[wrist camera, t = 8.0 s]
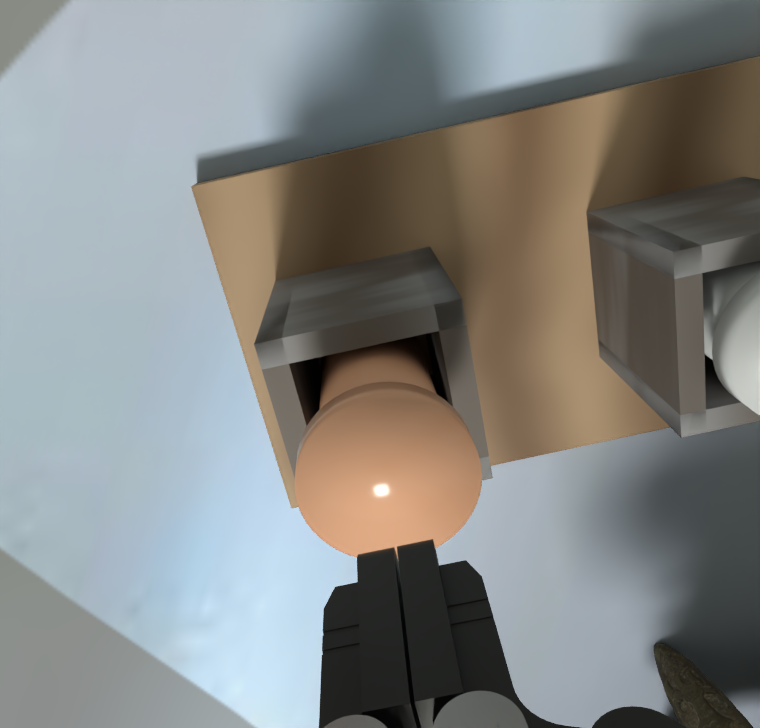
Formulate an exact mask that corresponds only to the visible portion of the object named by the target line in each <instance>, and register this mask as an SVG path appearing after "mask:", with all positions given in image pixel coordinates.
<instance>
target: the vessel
mask: <svg viewBox="0 0 760 728" xmlns="http://www.w3.org/2000/svg"><path fill="white" fill-rule="evenodd" d="M654 654H655V660H656V664H657V668H658V672H659V675H660V678H661V680H662V683H663V686H664V689H665V692H666V695H667V697H668V700H669V702H670V704H671V705H672V707H673V709H674V712H675V715H676V717H677V719H678V721H679V723H680V724H681V725H683V726H685V727H687V728H753V727H752V725H751V724H750V723H749V722H748V720H747V719H746V718H745V717H744V716H743V715H742V714H741V713H740V711H738V710H737V709H736V707H735V706H734V705H733V703H732V702H731V701H730V700H729V699H728V698H727V697H726V696H725V695H724V693H723V692H722V691H720V690H719V689H718V688H717V687H716V685H715V684H714V683H713V682H712V681H710V680H709V679H708V678H707V677H706V676H705V675H704V674H703V673H702V672H701V671H700V670H699V669H698V668H697V667H696V666H695V665H694V664H693V663H692V662H691V661H690V660H688V659H687V658H685V657H684V656H683V655H681V654H680V653H679V652H677V651H676V650H674V649H672V648H671V647H669V646H667V645H664V644H661V643H660V644H656V645H655V647H654Z"/></svg>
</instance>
